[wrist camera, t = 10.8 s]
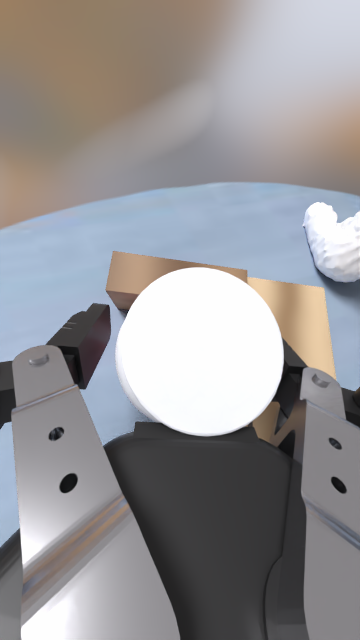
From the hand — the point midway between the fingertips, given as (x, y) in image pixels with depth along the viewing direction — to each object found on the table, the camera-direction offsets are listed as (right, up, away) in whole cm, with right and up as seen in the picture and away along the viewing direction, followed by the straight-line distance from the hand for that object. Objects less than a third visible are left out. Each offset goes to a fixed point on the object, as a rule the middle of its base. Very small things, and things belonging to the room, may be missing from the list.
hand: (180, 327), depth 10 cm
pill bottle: (-1, -3, +5) cm, 6 cm away
